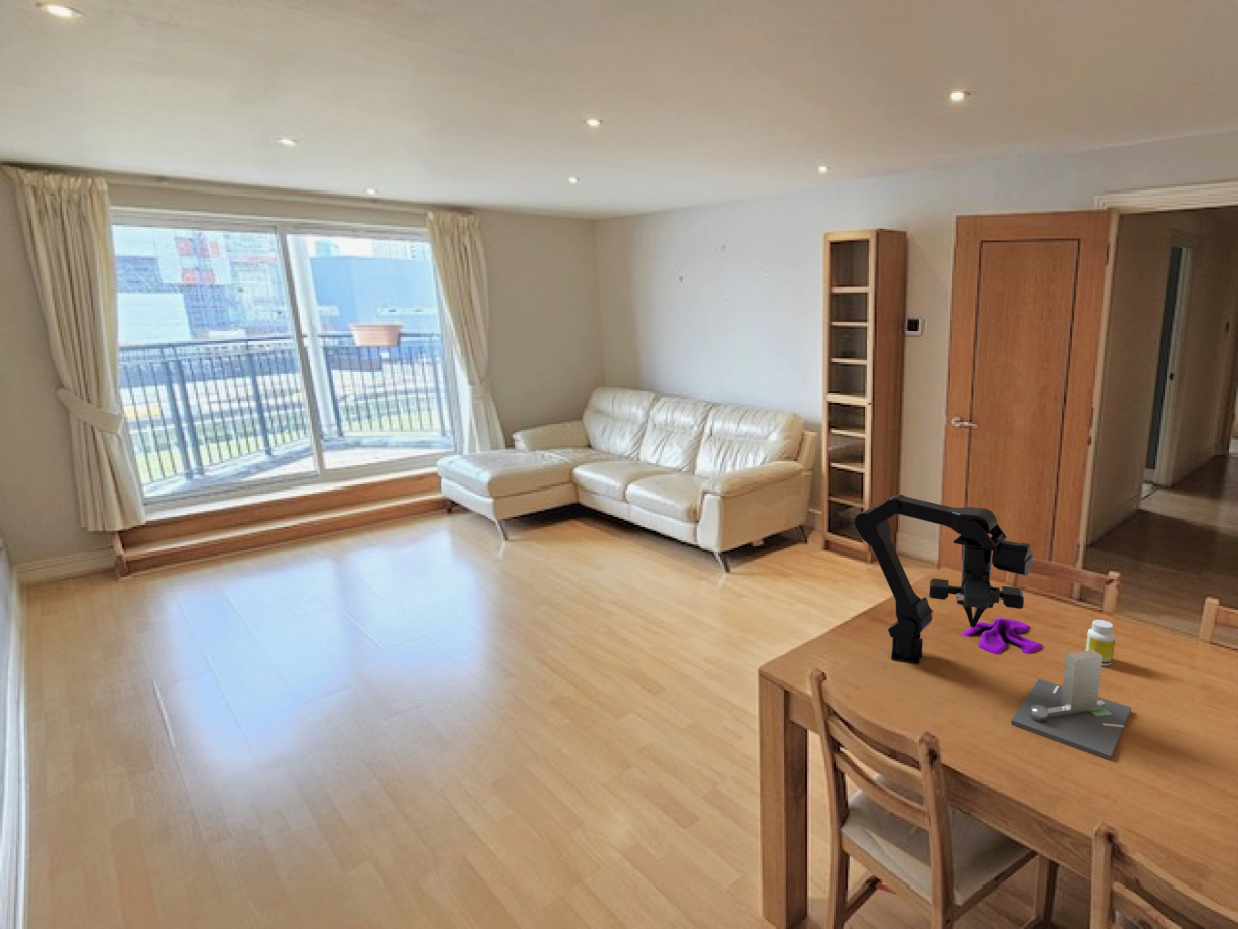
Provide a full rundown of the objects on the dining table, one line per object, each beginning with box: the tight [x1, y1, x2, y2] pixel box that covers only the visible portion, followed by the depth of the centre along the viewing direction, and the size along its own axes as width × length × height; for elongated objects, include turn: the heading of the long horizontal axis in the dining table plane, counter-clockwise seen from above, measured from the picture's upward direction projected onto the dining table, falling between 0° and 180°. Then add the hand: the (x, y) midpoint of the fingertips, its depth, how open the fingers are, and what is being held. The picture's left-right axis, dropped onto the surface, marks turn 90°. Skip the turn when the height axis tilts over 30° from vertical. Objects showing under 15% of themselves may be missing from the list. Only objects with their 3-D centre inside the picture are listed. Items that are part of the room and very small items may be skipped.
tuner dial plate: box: [1010, 678, 1132, 761], centre depth 137 cm, size 20×17×1 cm
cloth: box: [961, 617, 1044, 656], centre depth 170 cm, size 22×19×6 cm
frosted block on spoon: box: [1031, 650, 1106, 722], centre depth 135 cm, size 16×3×13 cm, turn 98°
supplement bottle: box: [1084, 619, 1116, 667], centre depth 155 cm, size 5×5×10 cm
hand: (972, 626), depth 151 cm, fingers closed
